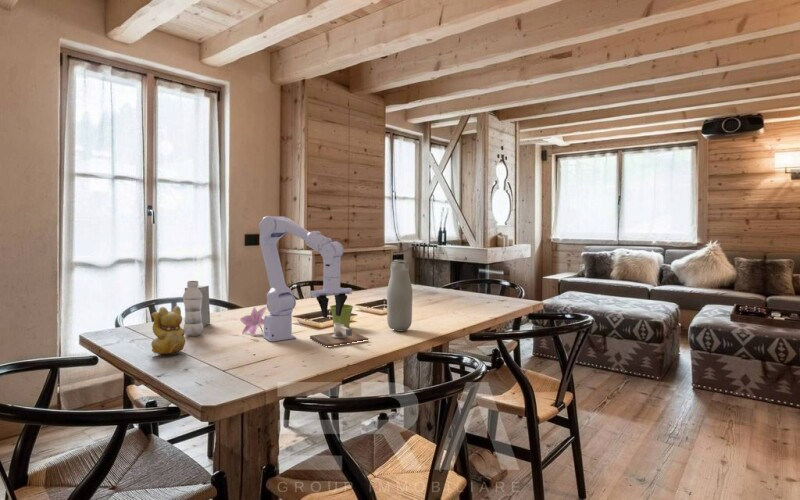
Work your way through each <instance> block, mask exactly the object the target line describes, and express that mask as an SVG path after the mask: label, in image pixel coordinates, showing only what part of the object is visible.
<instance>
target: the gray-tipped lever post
mask: <svg viewBox="0 0 800 500" xmlns="http://www.w3.org/2000/svg"><path fill="white" fill-rule="evenodd" d="M334 332H341V333H343V334H345V335H347V336H352V332H353V329H351V328H350V327H349V328H346V327H344V324H343V323H336V324H334V325H333V333H334Z"/></svg>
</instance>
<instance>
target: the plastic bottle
mask: <svg viewBox="0 0 800 500" xmlns="http://www.w3.org/2000/svg"><path fill="white" fill-rule="evenodd" d="M198 286H200V285H199V281H198V280H188V281H186V288H187V287H188V288H187V290H186V291H185V290H184V292H183V294H182V299H183V306H184V324H183V328H182V329H183V330H184V332H185V333H184V335H185V336H186V337H197V336H200V335H202V334H203V332H204V327H203V324H202V317H201V305H202V296H203V295H202V293H201V291H200V290H199V289H198Z"/></svg>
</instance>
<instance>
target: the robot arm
mask: <svg viewBox="0 0 800 500" xmlns="http://www.w3.org/2000/svg"><path fill="white" fill-rule="evenodd" d="M258 228H259V232H260V235H259V244H260V250H261V253H262V258H263V262H264V266H265V267H264V268H265V270H266V275H267V280H268V284H269V291H268V292H267V293H266V300H267V301H266V307H267V308H266V310H267V311H268V312H269V314H267V315H264V316H263V317H264V318H263V319H264V325H263V338H264V339H266V340H267V341H269V342H277V341H285V340H291V339H292V340H293V339H297V337H296V336H295V335H293V334H292V333H293V330H292V329H293V327H292V325H293V324H292V323H293V322H292V321H293V317H292V316H293V315H292V314H293V312H294V311H293V310H294V308H296V306H297V300H296V297H295V296H294V294H293V293H292V289H291V288H290V287H288V286H287V284H286V281H285V276H284V271H283V267H282V263H281V259H280V255H279V250H278V245H277V243H278V242H279V240H280V239H282V237H283V236H284V235H286V234H287V233H290V234H291V235H294V236H296V237H298V238H300V239H301V240H303V241H305V242H304V243H305V245H306V246H308V247H309V248H310V249H312V250H314V251H316V252H317V253H319V254H320V256H321V257H322V263H323V280H322V281H323V288H322V289H316V290H310V297H311V298H316V301H317V302H318V305H319V307H320V310H321V315H322V317H323V318H325V319H327V318H328V307H329V306H328V305H329V301H330V298H328V297H331V296H334V301H335V302H334V303H335V305H336V315H337V316H340V315H341V311H342V308H343V305H344V304H345V303H346V301H347V299H348V295H352V293H353V292H352V290H353V288H351V287H347V288H346V287H345V288H344V287H343V288H342V287H341V260H342V259H341V257H342V256H343V255H344V251H345V249H344V245H343V244H342V243H341V242H340V241H338V240H336V241H333V240H332V238H330V237H326V236H324V235H323V234H322V232H321V231H320V230H316V231H315V230H313V231H309V230H307V229H306V228H304V227H303V226H301V225H299V224H298V223H296V222H295V221H294V220H292V219H290V218H288V217H286V216H284V215H282V216H275V215H274V216H271V215H265V216H264V217H263V218H262V219H261V220H260V222H259V223H258Z"/></svg>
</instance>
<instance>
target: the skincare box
mask: <svg viewBox="0 0 800 500" xmlns="http://www.w3.org/2000/svg"><path fill="white" fill-rule="evenodd" d="M187 288H188V287H187V286H186V287H184V292H185V291H186V290H187ZM198 289H199V290H200V291H201V293H202V295H203V296H202V305H201V317H202V324H203V328H205V326H207V325H210V323H211V315H210V314H211V313H210V311H211V310H210V309H211V308H210V287H209V285H199V286H198Z"/></svg>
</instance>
